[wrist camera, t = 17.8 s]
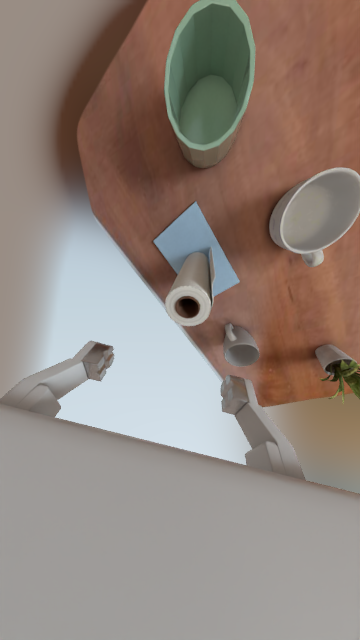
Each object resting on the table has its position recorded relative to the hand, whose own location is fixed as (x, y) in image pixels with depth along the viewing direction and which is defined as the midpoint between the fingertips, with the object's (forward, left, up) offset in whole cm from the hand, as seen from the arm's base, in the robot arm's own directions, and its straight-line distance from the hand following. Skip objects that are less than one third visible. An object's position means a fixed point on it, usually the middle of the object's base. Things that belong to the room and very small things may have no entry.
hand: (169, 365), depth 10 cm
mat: (+1, 0, -32) cm, 32 cm away
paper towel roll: (+1, -1, -31) cm, 31 cm away
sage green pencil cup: (-3, +21, -32) cm, 38 cm away
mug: (+16, -17, -32) cm, 40 cm away
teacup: (+17, +11, -32) cm, 38 cm away
